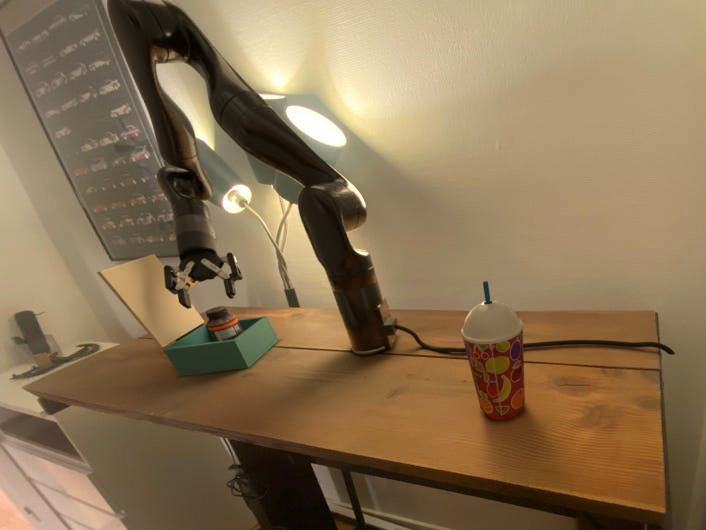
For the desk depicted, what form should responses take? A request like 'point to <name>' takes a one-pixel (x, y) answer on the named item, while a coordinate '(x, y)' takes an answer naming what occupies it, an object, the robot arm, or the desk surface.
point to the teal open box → (222, 348)
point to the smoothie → (495, 356)
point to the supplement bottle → (223, 324)
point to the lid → (151, 299)
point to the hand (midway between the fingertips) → (209, 301)
